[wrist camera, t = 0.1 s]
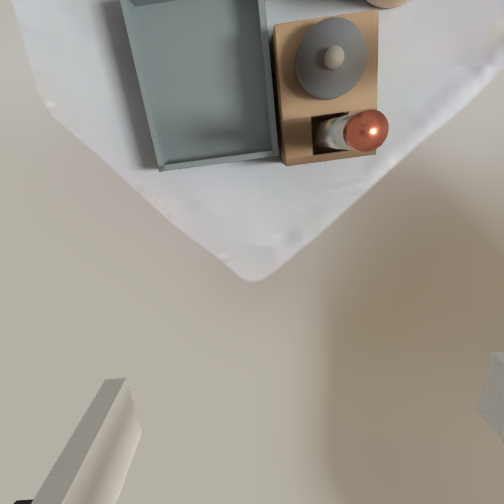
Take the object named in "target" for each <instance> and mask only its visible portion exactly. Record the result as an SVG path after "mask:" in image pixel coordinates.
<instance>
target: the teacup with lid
mask: <svg viewBox="0 0 504 504" xmlns="http://www.w3.org/2000/svg"><path fill="white" fill-rule="evenodd" d="M366 1H367V2H369V3H371V4H372V5H375V6H377V7H381V8H394V7H398V6H401V5H404V4H406V3H408V2H409V1H411V0H366Z"/></svg>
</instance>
